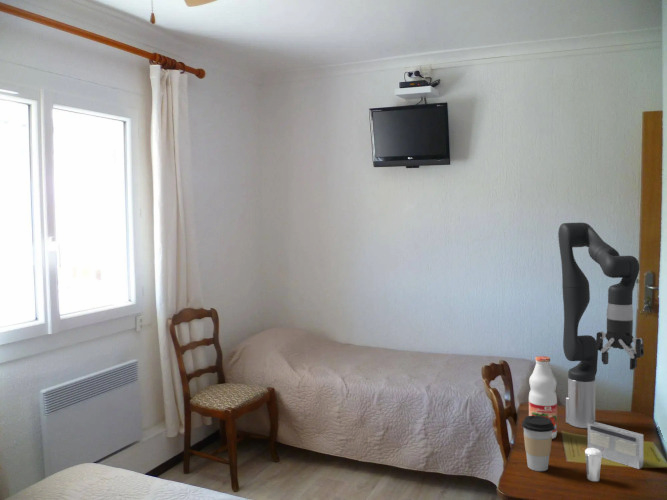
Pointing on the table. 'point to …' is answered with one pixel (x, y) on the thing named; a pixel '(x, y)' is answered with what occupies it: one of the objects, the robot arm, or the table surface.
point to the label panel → (616, 444)
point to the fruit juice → (543, 392)
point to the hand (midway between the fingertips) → (618, 366)
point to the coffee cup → (537, 441)
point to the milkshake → (593, 463)
